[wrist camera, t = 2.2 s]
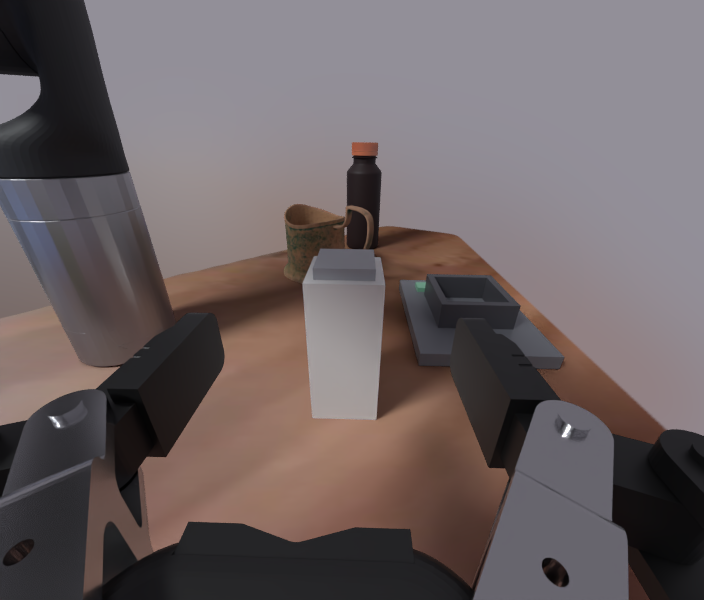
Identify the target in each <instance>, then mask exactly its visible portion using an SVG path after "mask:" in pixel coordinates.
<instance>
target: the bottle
mask: <svg viewBox="0 0 704 600" xmlns="http://www.w3.org/2000/svg"><path fill="white" fill-rule="evenodd" d="M377 151H378V143H354V142H353V143H352V155H354V156H353V157H352V158H354V163H353V165H352V166H351V167H350V169H349V170H348V171H347V206H357V207H361V208H363V209H366V210H367V211H368V212H370V214H371V215H372V217H373V221H374V233H373V240H372V244H371V246H370V248H369V249H373V248H376V247H377V245H378V230H379V210H380V190H381V171H380V169H379V168H378V167H377V165H376V164H375V160H376V158H377V157H376V155H377V154H378V152H377ZM366 239H367V220H366V218H365V216H364V215H363V214H361V213H360V212H357V211H354V210H352V217H351V221H350V223H349V225H348V226H347V245H348V247H350V248H352V249H363V248H364V246H365V243H366Z"/></svg>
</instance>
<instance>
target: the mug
mask: <svg viewBox="0 0 704 600" xmlns="http://www.w3.org/2000/svg"><path fill="white" fill-rule="evenodd" d="M352 210H354V211H357V212H360V213H361V214H363V215H364V216H365V218H366V220H367V239H366V243H365V246H364V248H363V249H366V250H369V248H370V246H371V244H372V240H373V233H374V221H373V217H372V215H371V214H370V212H368V211H367V210H366V209H363V208H361V207H357V206H346V217H342V216H338V215H335V214H332V213H330V212H328V211H325V210H322V209H318V208H315V207H311V206H307V205H303V204H294V205H292V206H290V207H289V208H288V209H287V210H286V212H285V214H284V219H285V226H286V238H287V248H288V264H287V265H286V266H285V268H284V275H285V276H286V277H287V278H288V279H290V280H292V281H295V282H299V283H303V281H304V279H305V276H306V274H307V272H308V269H309V267H310V264H311V262H312V260H313V257H314V256H318V253H319V251H320V249H345V245H344V227H347V226H348V225H349V223H350V221H351V217H352Z"/></svg>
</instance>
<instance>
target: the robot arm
mask: <svg viewBox="0 0 704 600" xmlns="http://www.w3.org/2000/svg"><path fill="white" fill-rule="evenodd" d="M0 74H8V75H23V76H38V77H39V79H40V84H41V93H40V96H39V98H38V100H37V101H36V102H35V103H34V105H33V106H32V107H31V108H30V109H28V110H27V111H26V112H25V113H23V114H22V115H20V116H18V117H16V118H15V119H12V120H10V121H8V122H6V123H3V124H0V206H1V208H2V210H3V212H4V214H5V216H6V218H7V219H8V221H9V223H10V225H11V227H12V229H13V231H14V233H15V235H16V237H17V239H18V241H19V243H20V244H21V246H22V248H23V250H24V252H25V254H26V256H27V258H28V260H29V262H30V264H31V266H32V268H33V270H34V272H35V274H36V275H37V278H38V280H39V281H40V283H41V285H42V287H43V289H44V291H45V293H46V295H47V297H48V299H49V301H50V303H51V305H52V307H53V309H54V311H55V313H56V315H57V316H58V318H59V320H60V322H61V324H62V327H63V329H64V331H65V332H66V334H67V336H68V338H69V340H70V342H71V344H72V346H73V348H74V350H75V352H76V354H77V356H78V358H79V359H80V360H81V362H83V363H85V364H87V365H91V366H104V367H105V366H115V365H120V364H123V365H122V366H121V367H120V368H119V369H118V370H116V371H115V372H114V373H113V374H112V375H111V376H110V377H109V378H108V379H106V380H105V381H104V382H103V383H102V384H101V385H100V386H99V387H98V388H96V389H88V390H81V391H76V392H73V393H70V394H67V395H64V396H62V397H59V398H57V399H55V400H53V401H51V402H50V403H48V404H46V405H45V406H43V407H42V408H40V409H39V410H38V411H36V412H35V413H34V414H33V415H32V416H31V417H30V418H29V419H28V420H26V421H21V422H16V423H11V424H6V425H1V426H0V600H629V595H628V563H629V565H630V567H631V568H632V570H633V572H634V573H635V575H636V577H637V578H638V580H639V582H640V583H641V585H642V587H643V589H644V590H645V592H646V594H647V595H648V597H649V599H650V600H704V436H702V435H699V434H696V433H693V432H689V431H685V430H667V431H664V432H663V433H662V434H661V435H660V437H659V438H658V440H657V441H656V443H655V444H650V443H646V442H642V441H638V440H634V439H631V438H627V437H623V436H619V435H615V434H612V433H611V432H610V430H609V429H608V427H607V426H606V425H605V424H604V423H603V422H602V421H601V420H600V419H599V418H597V417H596V416H595V415H593V414H592V413H590V412H589V411H587V410H585V409H583V408H581V407H579V406H577V405H574V404H571V403H568V402H564V401H561V400H560V398H559V397H558V396H557V395H556V393H555V392H554V391H553V390H552V388H551V387H550V386H549V385H548V383H547V382H546V381H545V380H544V378H543V377H542V376H541V375H540V373H539V372H538V371H537V370H536V368H535V367H533V366H532V363H531V362H530V361H529V359H528V358H527V357H525V354H524V353H523V352H522V351H521V349H520V348H519V347H518V346H517V344H516V343H514V342H513V341H511V340H510V339H508V338H507V337H505V336H504V335H502V334H496V333H495V332H494V330H493V329H492V328H491V326H490V325H489V323H488V322H487V321H486V320H485V319H484V318H459V319H458V321H457V324H456V330H455V335H454V340H453V346H452V351H451V357H450V369H451V374H452V377H453V380H454V382H455V385H456V387H457V390H458V392H459V395H460V397H461V400H462V402H463V405H464V407H465V410H466V412H467V415H468V417H469V420H470V422H471V425H472V427H473V430H474V432H475V435H476V437H477V440H478V442H479V445H480V447H481V450H482V452H483V455H484V457H485V460H486V462H487V465H488V467H489V468H505V469H506V471H507V474H508V476H509V480H508V482H507V485H506V488H505V491H504V494H503V497H502V500H501V502H500V505H499V508H498V511H497V514H496V517H495V520H494V523H493V526H492V529H491V531H490V534H489V537H488V540H487V543H486V546H485V549H484V552H483V554H482V557H481V560H480V563H479V565H478V568H477V571H476V574H475V577H474V579H473V582H472V585H471V587H470V586H469V585H468V584H467V583H466V582H465V581H464V580H463V579H462V578H460V577H459V576H458V575H457V574H456V573H455V572H453V571H452V570H451V569H450V568H448V567H447V566H445V565H444V564H442V563H441V562H439V561H438V560H436V559H434V558H433V557H431V556H429V555H427V554H425V553H423V552H420V551H417V550H415V549H413V548H412V540H411V532H410V529H385V528H356V527H355V528H351V529H347V530H344V531H340V532H336V533H332V534H329V535H325V536H321V537H317V538H314V539H310V540H306V541H302V542H291V541H288V540H285V539H282V538H280V537H277V536H274V535H272V534H269V533H266V532H263V531H261V530H258V529H255V528H253V527H250V526H247V525H245V524H238V523H209V522H188V524H187V526H186V529H185V531H184V533H183V535H182V537H181V539H180V541H179V543H176V544H173V545H170V546H168V547H165V548H162V549H160V550H158V551H156V552H153V549H152V545H151V541H150V536H149V527H148V516H147V506H146V496H145V485H144V475H143V470H142V468H141V466H140V465H141V464H142V462H143V461H144V460H145V458H146V457H166V456H167V455H168V453H169V452H170V450H171V448H172V447H173V445H174V444H175V442H176V441H177V439H178V437H179V436H180V434H181V433H182V431H183V430H184V428H185V426H186V425H187V423H188V422H189V420H190V419H191V417H192V415H193V414H194V412H195V411H196V409H197V408H198V406H199V404H200V403H201V401H202V400H203V398H204V397H205V395H206V393H207V392H208V390H209V389H210V387H211V386H212V384H213V382H214V381H215V379H216V378H217V376H218V375H219V373H220V371H221V370H222V367H223V364H224V349H223V345H222V340H221V336H220V332H219V327H218V323H217V319H216V317H215V315H214V314H212V313H187V314H186V315H184V316H183V317H182V318H181V319H180V320H179V321H178V322H177V323H176V320H175V317H174V314H173V310H172V307H171V304H170V301H169V297H168V293H167V290H166V287H165V284H164V280H163V277H162V274H161V271H160V268H159V264H158V261H157V258H156V255H155V251H154V248H153V245H152V242H151V238H150V235H149V232H148V229H147V225H146V222H145V219H144V216H143V213H142V209H141V206H140V204H139V200H138V197H137V194H136V190H135V187H134V184H133V181H132V177H131V174H130V172H129V167H128V164H127V161H126V158H125V154H124V151H123V147H122V143H121V139H120V136H119V132H118V128H117V125H116V121H115V118H114V114H113V111H112V107H111V104H110V100H109V97H108V93H107V89H106V85H105V81H104V78H103V74H102V70H101V66H100V61H99V57H98V53H97V49H96V45H95V41H94V37H93V33H92V29H91V25H90V21H89V18H88V14H87V10H86V7H85V3H84V0H0Z"/></svg>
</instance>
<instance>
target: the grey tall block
mask: <svg viewBox="0 0 704 600" xmlns="http://www.w3.org/2000/svg"><path fill="white" fill-rule="evenodd" d="M302 285H303V298H304V312H305V325H306V339H307V352H308V366H309V380H310V393H311V407H312V418H327V419H361V420H376V418H377V403H378V388H379V373H380V358H381V343H382V328H383V312H384V297H385V280H384V274H383V268H382V262H381V257H374V250H366V249H320V251H319V253H318V256H314V257H313V260H312V262H311V264H310V267H309V269H308V272H307V274H306V276H305V279H304V281H303V283H302Z"/></svg>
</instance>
